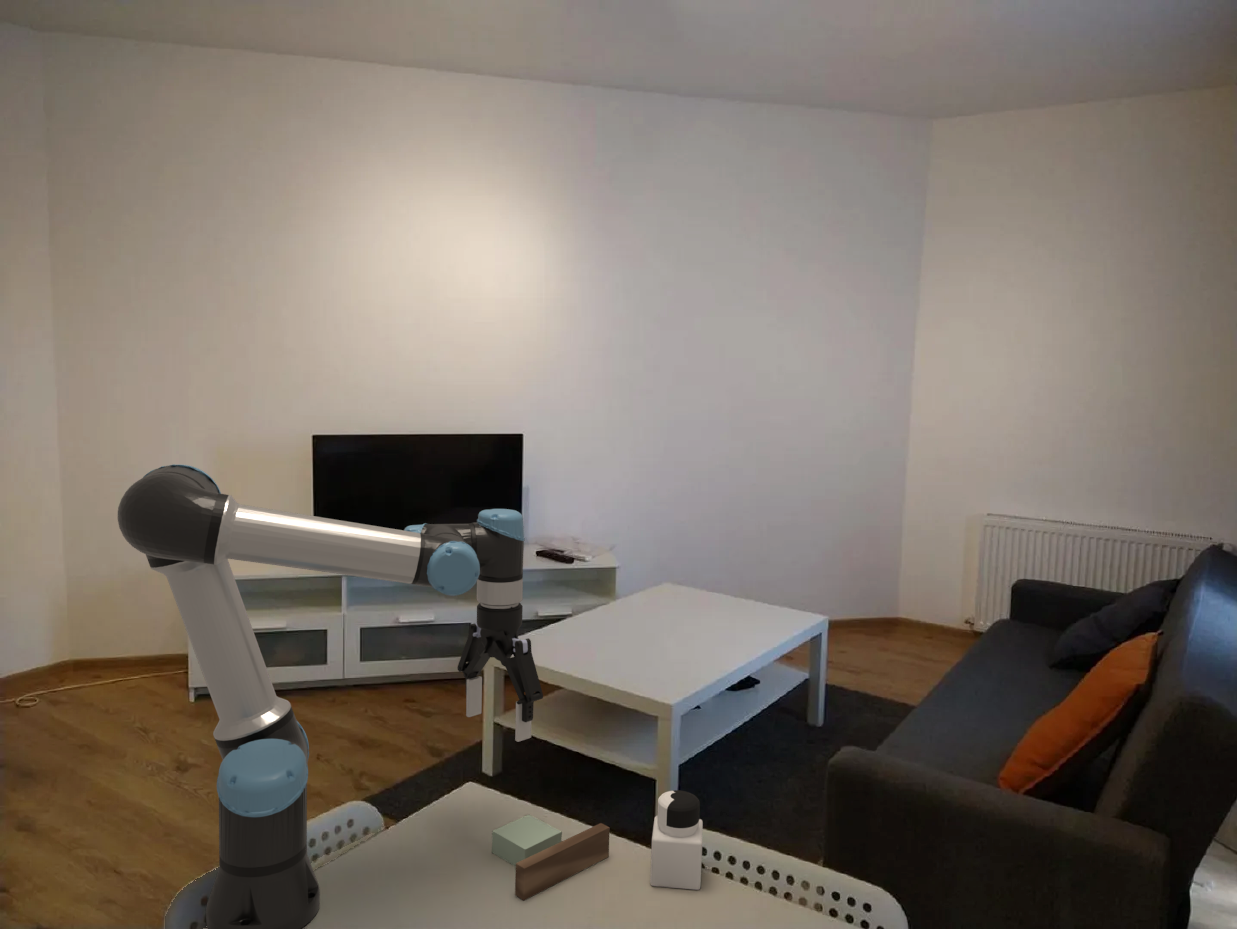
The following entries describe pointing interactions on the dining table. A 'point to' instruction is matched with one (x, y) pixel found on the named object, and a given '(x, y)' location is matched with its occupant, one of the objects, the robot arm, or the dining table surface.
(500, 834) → the block
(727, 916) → the dining table surface
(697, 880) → the container
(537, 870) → the board
